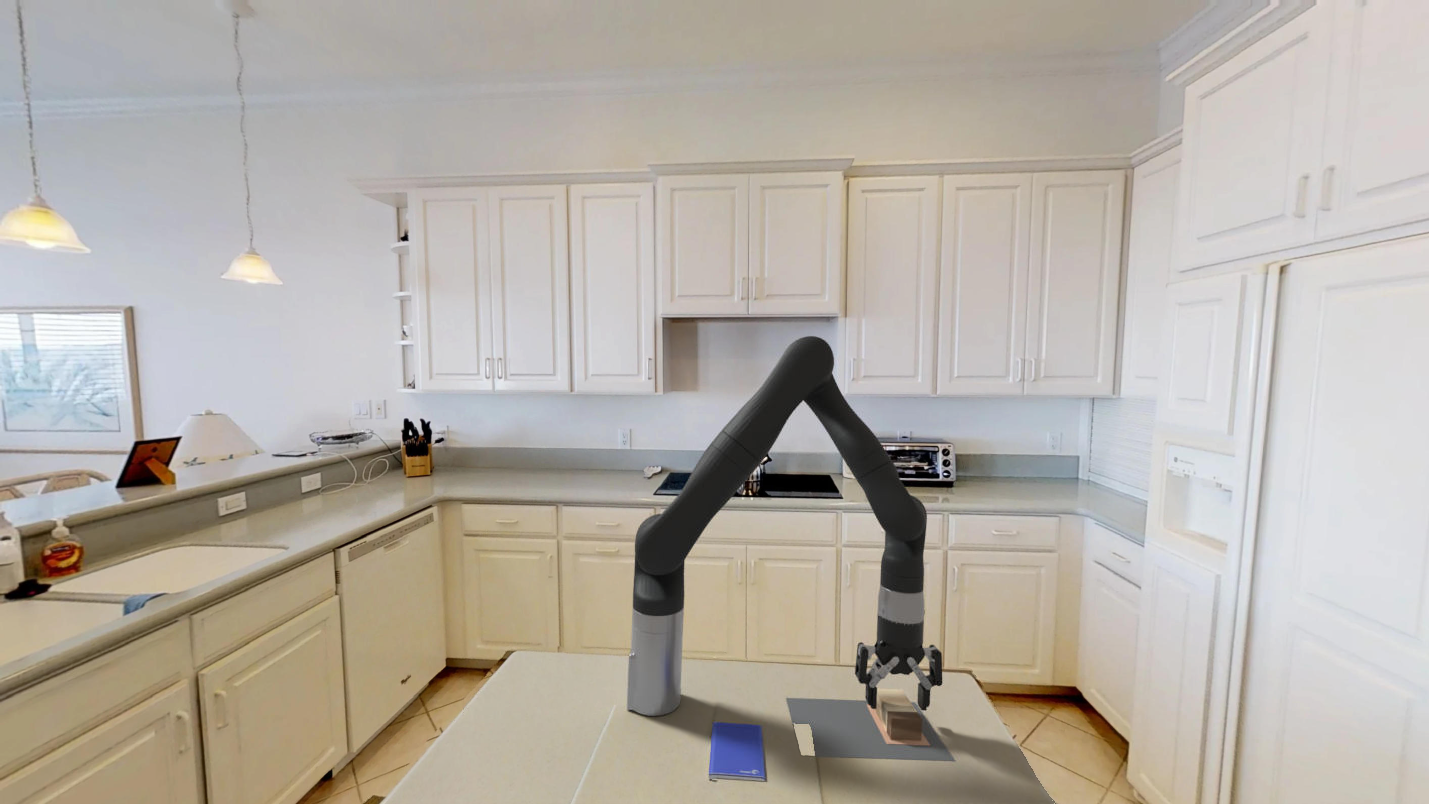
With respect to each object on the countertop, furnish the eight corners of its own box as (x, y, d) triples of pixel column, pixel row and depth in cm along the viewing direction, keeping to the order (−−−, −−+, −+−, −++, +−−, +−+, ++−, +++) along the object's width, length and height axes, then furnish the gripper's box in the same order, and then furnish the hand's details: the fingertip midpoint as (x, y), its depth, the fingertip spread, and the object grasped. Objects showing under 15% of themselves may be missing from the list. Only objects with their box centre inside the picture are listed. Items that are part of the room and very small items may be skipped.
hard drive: (765, 776, 75) (761, 724, 88) (708, 772, 76) (712, 721, 88) (765, 787, 75) (761, 734, 88) (708, 783, 76) (712, 730, 88)
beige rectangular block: (873, 707, 95) (874, 688, 95) (901, 708, 95) (901, 689, 95) (890, 739, 86) (891, 718, 86) (921, 740, 86) (922, 719, 86)
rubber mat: (800, 758, 81) (800, 755, 81) (785, 700, 97) (785, 697, 97) (955, 763, 81) (955, 760, 81) (915, 704, 97) (915, 701, 97)
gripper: (932, 605, 94) (929, 696, 94) (853, 603, 94) (849, 693, 94) (951, 623, 87) (948, 721, 87) (865, 620, 87) (861, 719, 86)
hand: (896, 707), depth 90 cm, fingers open, 8 cm apart
